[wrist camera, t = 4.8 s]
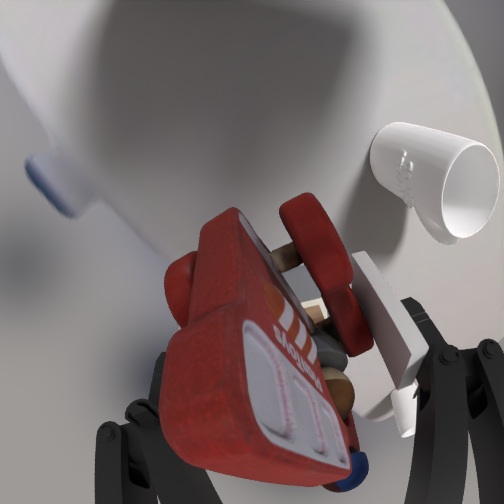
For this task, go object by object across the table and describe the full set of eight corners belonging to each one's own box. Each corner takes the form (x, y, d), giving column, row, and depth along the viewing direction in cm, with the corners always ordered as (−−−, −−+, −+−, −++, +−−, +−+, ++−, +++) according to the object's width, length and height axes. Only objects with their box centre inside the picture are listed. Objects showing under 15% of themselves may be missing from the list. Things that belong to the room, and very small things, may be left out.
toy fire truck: (270, 365, 18) (287, 507, 9) (152, 224, 12) (55, 452, 3) (363, 326, 16) (419, 468, 8) (289, 147, 11) (476, 364, 2)
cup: (414, 390, 54) (430, 426, 43) (383, 403, 54) (397, 441, 44) (421, 372, 49) (440, 412, 39) (387, 387, 50) (404, 430, 39)
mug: (385, 229, 30) (441, 289, 19) (356, 135, 24) (430, 161, 14) (435, 204, 28) (497, 250, 18) (415, 113, 23) (495, 132, 12)
